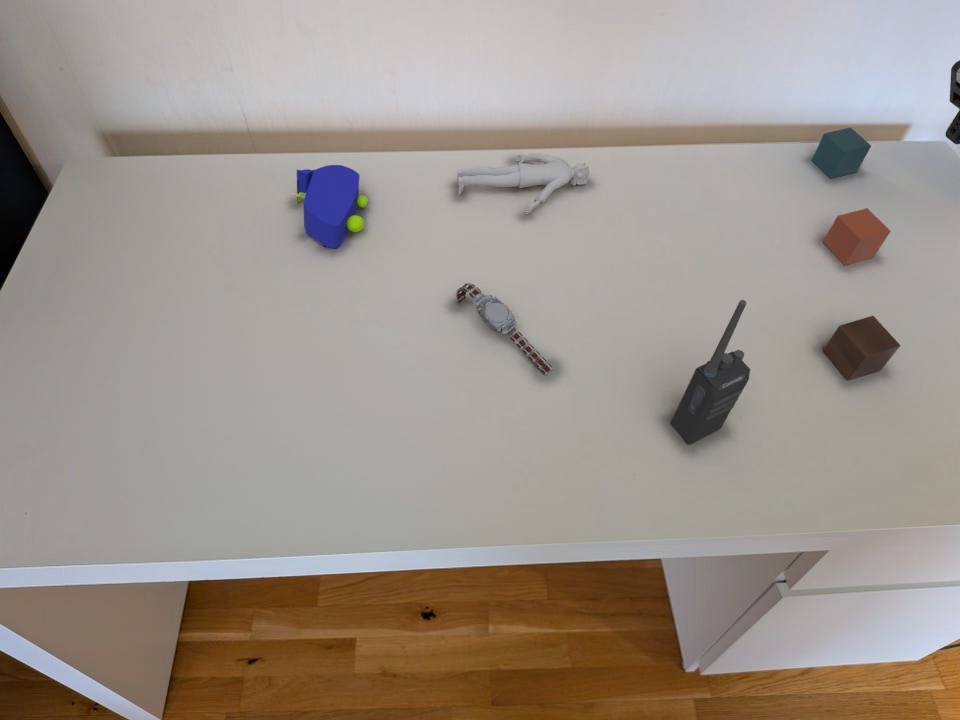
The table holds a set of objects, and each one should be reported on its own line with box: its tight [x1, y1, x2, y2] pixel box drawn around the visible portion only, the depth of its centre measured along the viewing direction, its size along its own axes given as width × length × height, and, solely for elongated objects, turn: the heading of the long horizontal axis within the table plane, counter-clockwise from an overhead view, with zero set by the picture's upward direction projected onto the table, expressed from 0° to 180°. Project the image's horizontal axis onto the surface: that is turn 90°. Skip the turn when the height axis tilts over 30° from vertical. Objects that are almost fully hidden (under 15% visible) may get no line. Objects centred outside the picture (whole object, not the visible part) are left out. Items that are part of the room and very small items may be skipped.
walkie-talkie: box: [670, 299, 751, 445], centre depth 63 cm, size 5×3×20 cm
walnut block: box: [822, 315, 902, 381], centre depth 75 cm, size 4×4×4 cm
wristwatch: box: [455, 282, 554, 376], centre depth 78 cm, size 4×14×5 cm, turn 44°
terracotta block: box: [822, 207, 891, 266], centre depth 85 cm, size 4×4×4 cm
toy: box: [291, 164, 369, 249], centre depth 89 cm, size 12×6×10 cm
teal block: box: [811, 127, 872, 179], centre depth 96 cm, size 4×4×4 cm
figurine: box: [457, 152, 590, 215], centre depth 93 cm, size 12×4×18 cm
